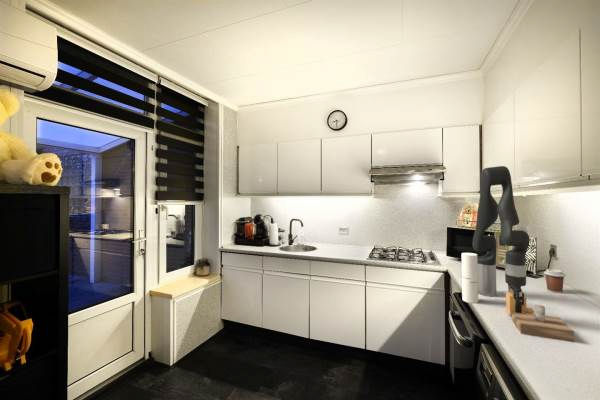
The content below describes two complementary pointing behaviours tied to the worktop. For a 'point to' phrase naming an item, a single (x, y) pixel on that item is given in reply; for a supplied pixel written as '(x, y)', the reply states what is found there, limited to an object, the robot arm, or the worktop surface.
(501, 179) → the robot arm
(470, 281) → the cylindrical container
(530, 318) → the brown slab
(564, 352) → the worktop surface
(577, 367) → the worktop surface
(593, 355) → the worktop surface
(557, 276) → the coffee cup
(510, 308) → the peach foam cube
